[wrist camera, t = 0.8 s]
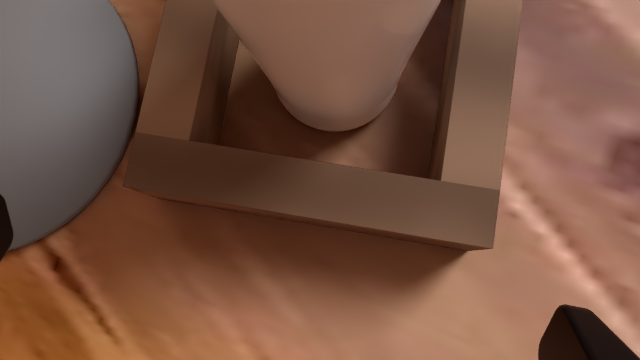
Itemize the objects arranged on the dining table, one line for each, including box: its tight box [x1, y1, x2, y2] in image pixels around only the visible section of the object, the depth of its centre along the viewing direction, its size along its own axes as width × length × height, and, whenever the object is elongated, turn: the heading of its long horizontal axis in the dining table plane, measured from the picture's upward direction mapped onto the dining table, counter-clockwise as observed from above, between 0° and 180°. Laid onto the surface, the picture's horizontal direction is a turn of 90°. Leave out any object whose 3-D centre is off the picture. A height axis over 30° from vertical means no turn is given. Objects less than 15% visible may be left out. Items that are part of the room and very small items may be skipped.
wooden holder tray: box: [123, 0, 523, 251], centre depth 20 cm, size 13×13×5 cm
